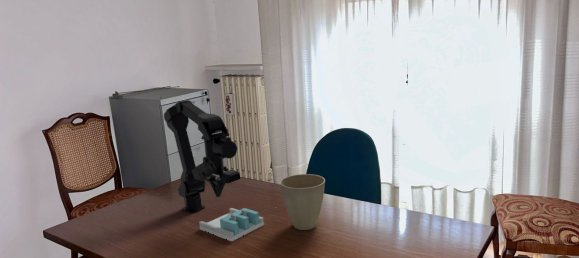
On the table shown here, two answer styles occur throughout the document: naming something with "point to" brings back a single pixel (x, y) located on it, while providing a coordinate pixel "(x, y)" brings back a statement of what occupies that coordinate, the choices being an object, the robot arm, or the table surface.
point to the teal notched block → (239, 221)
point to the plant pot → (303, 199)
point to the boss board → (216, 229)
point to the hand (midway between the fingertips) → (218, 196)
